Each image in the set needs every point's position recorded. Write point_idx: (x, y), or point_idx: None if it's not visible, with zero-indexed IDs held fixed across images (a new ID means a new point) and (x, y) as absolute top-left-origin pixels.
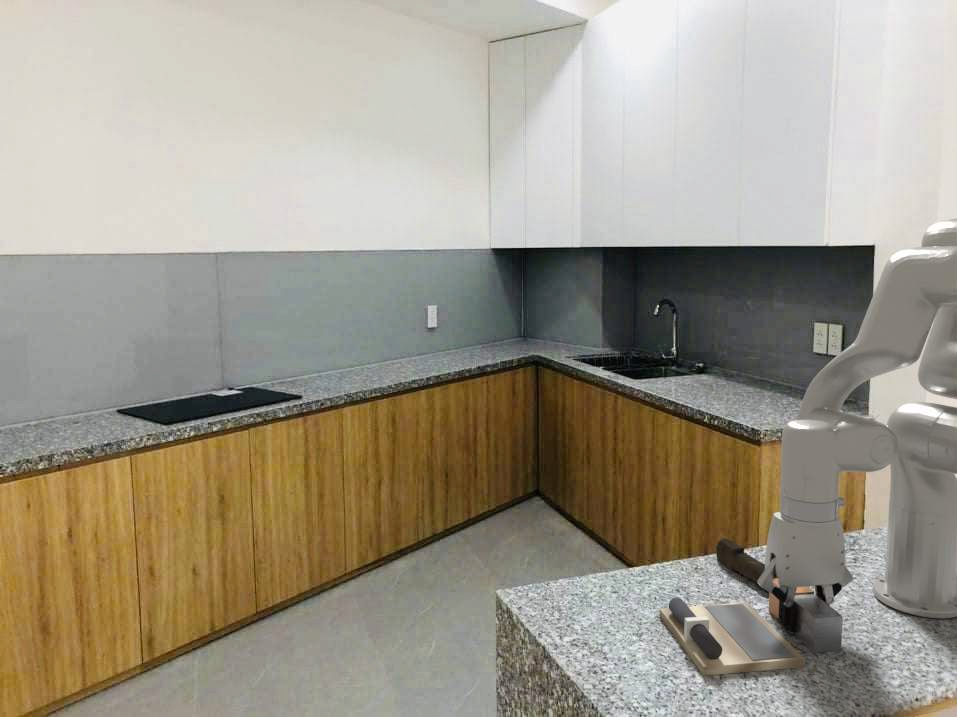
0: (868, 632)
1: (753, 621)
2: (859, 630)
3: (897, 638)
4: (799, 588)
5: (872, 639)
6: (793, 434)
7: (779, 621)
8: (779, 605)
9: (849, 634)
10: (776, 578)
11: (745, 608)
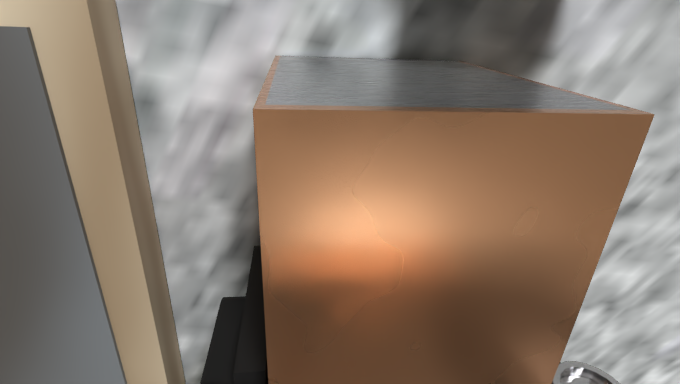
0: (610, 311)
1: (51, 288)
2: (592, 296)
3: (663, 351)
4: (458, 374)
5: (576, 353)
6: None
7: (225, 297)
8: (203, 379)
9: None
10: (368, 111)
11: (36, 117)
